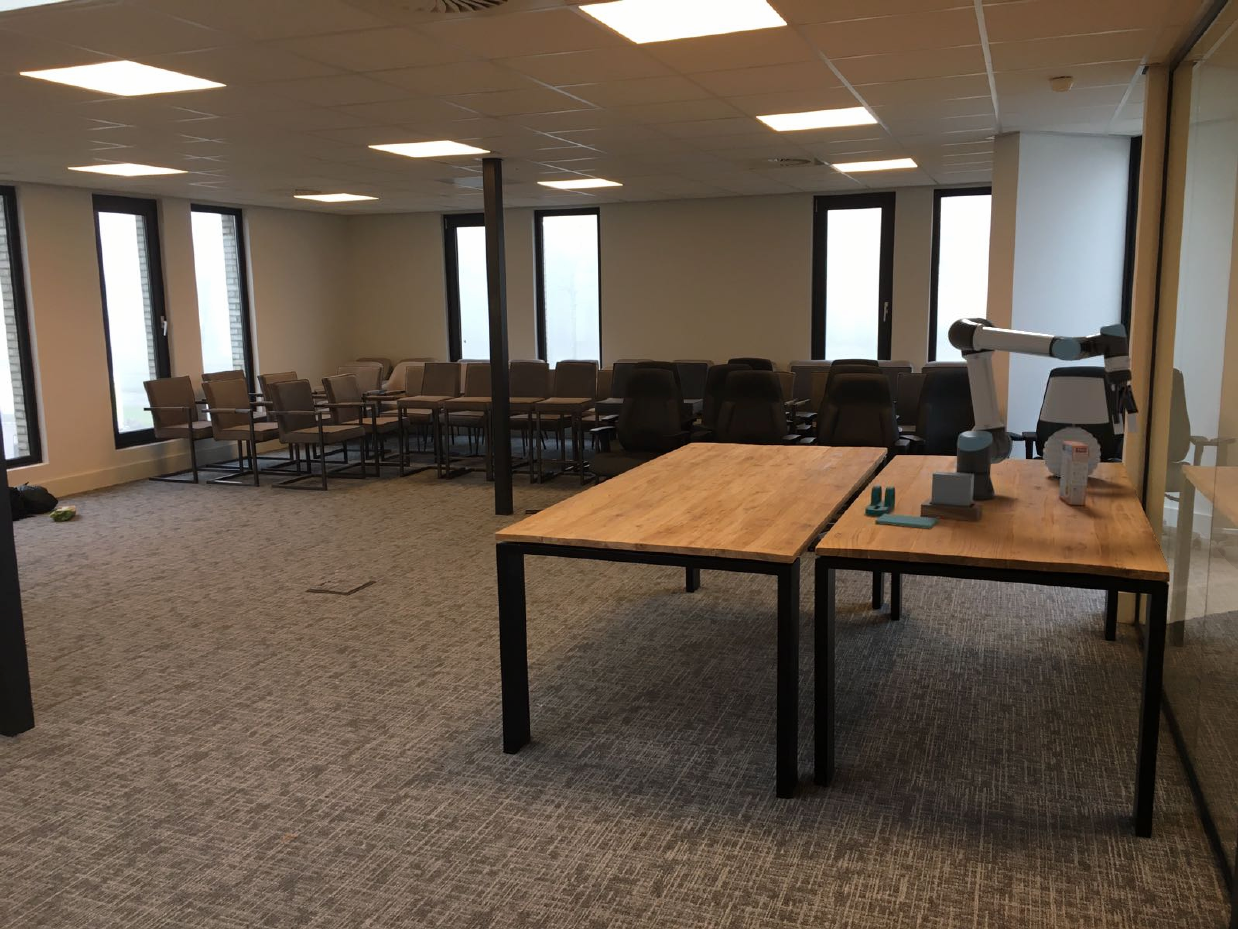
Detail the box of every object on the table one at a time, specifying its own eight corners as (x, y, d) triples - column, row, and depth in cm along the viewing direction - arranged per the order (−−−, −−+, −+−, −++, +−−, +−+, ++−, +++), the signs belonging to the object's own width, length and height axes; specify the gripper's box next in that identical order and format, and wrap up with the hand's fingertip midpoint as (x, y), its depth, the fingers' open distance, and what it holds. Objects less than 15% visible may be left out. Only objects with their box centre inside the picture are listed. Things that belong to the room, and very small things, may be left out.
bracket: (874, 506, 344) (875, 484, 343) (894, 508, 341) (895, 485, 340) (863, 515, 328) (864, 492, 327) (884, 517, 325) (884, 493, 324)
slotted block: (927, 510, 336) (928, 498, 335) (982, 515, 327) (982, 503, 327) (920, 516, 326) (920, 504, 325) (976, 521, 317) (977, 509, 317)
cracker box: (1086, 506, 342) (1090, 445, 339) (1067, 505, 344) (1071, 445, 341) (1076, 498, 356) (1080, 440, 353) (1058, 498, 357) (1062, 440, 354)
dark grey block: (934, 512, 332) (936, 471, 330) (971, 516, 326) (974, 473, 324) (930, 515, 327) (932, 473, 325) (968, 519, 321) (971, 476, 319)
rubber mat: (884, 516, 325) (884, 513, 325) (937, 521, 317) (938, 518, 317) (875, 523, 315) (875, 520, 315) (930, 528, 307) (930, 525, 307)
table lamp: (1109, 483, 387) (1116, 380, 381) (1039, 480, 395) (1045, 379, 389) (1099, 473, 411) (1106, 376, 405) (1033, 471, 419) (1039, 375, 413)
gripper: (1116, 367, 322) (1125, 432, 321) (1142, 369, 339) (1151, 431, 338) (1092, 371, 327) (1101, 435, 326) (1119, 373, 345) (1127, 433, 344)
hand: (1126, 433), depth 332 cm, fingers open, 13 cm apart
